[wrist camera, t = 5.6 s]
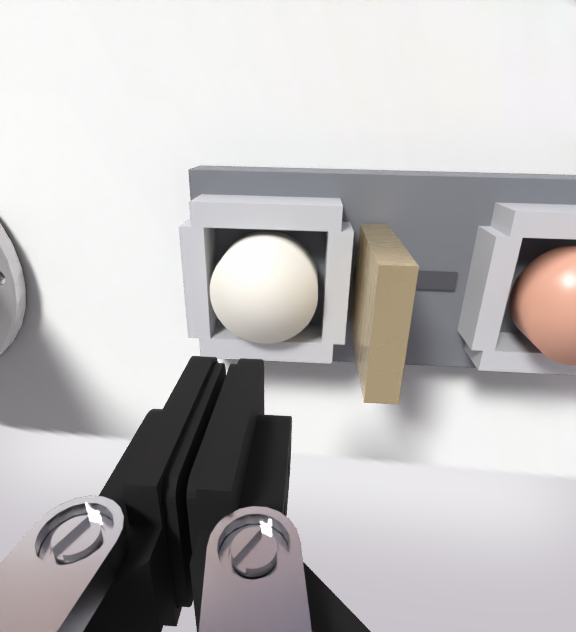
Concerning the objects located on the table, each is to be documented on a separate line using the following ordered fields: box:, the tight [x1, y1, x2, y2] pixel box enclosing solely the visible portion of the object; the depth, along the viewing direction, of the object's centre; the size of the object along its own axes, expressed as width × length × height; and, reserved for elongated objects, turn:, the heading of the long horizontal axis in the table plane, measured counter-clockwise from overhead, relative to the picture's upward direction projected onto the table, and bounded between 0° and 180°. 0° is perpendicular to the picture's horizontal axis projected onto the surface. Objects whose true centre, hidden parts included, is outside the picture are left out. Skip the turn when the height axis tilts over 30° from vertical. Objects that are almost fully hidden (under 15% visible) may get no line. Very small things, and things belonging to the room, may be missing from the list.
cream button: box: [210, 230, 318, 344], centre depth 18 cm, size 4×4×2 cm
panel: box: [179, 166, 576, 375], centre depth 20 cm, size 20×9×4 cm, turn 89°
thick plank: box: [351, 224, 419, 404], centre depth 17 cm, size 1×5×6 cm, turn 179°
